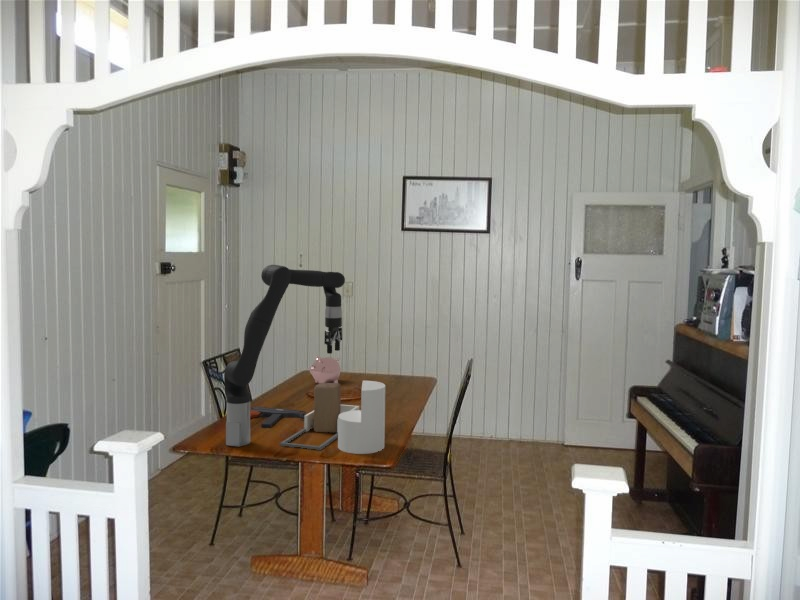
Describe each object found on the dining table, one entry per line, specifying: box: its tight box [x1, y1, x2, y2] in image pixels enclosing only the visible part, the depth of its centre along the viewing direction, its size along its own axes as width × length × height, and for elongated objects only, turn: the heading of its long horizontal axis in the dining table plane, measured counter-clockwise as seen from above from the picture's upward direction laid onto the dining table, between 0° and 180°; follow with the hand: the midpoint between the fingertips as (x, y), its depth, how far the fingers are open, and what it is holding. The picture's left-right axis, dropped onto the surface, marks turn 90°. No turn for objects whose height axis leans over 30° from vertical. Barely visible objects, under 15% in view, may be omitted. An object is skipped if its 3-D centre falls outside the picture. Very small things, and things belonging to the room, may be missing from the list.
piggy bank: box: [309, 355, 341, 384], centre depth 379 cm, size 15×18×16 cm
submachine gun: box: [250, 406, 307, 429], centre depth 299 cm, size 32×3×25 cm
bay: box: [279, 428, 338, 451], centre depth 268 cm, size 22×17×1 cm
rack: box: [303, 404, 360, 434], centre depth 290 cm, size 24×16×7 cm
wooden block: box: [313, 382, 342, 434], centre depth 284 cm, size 10×10×20 cm
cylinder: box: [337, 380, 386, 455], centre depth 261 cm, size 19×19×25 cm
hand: (333, 351), depth 294 cm, fingers open, 8 cm apart
